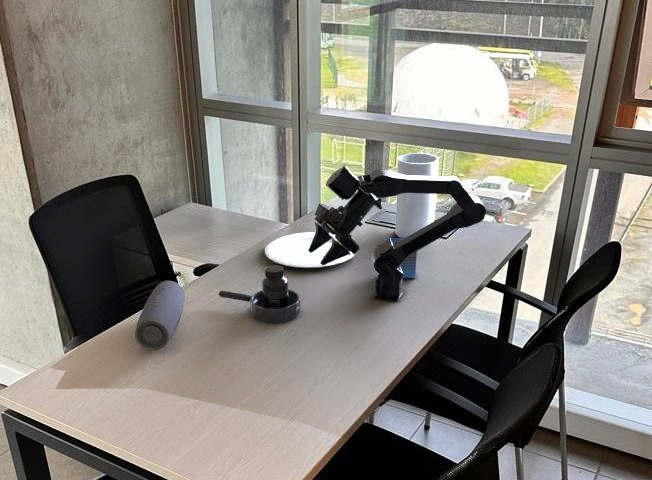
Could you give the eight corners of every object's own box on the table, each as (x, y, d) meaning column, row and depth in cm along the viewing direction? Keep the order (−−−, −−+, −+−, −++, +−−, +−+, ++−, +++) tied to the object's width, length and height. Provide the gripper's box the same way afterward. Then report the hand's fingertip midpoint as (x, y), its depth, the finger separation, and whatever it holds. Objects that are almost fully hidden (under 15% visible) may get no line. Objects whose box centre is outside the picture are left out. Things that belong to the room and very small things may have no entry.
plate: (373, 247, 230) (373, 241, 229) (327, 280, 209) (326, 274, 208) (297, 231, 244) (297, 226, 243) (246, 261, 223) (245, 255, 222)
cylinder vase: (391, 228, 244) (394, 154, 230) (427, 226, 245) (432, 152, 231) (399, 242, 233) (403, 164, 220) (437, 239, 234) (443, 162, 221)
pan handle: (256, 300, 194) (256, 294, 193) (253, 303, 193) (253, 297, 192) (221, 295, 198) (220, 289, 197) (217, 297, 196) (217, 291, 195)
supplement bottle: (294, 309, 192) (292, 267, 186) (278, 318, 188) (275, 276, 182) (275, 302, 196) (272, 261, 190) (258, 311, 192) (255, 270, 185)
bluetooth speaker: (155, 312, 194) (149, 278, 189) (189, 312, 194) (185, 278, 189) (135, 355, 175) (129, 318, 170) (173, 354, 175) (168, 317, 169)
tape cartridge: (415, 273, 212) (417, 233, 205) (415, 278, 209) (418, 238, 202) (384, 272, 213) (386, 233, 206) (384, 278, 209) (386, 238, 203)
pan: (307, 306, 195) (307, 291, 193) (288, 327, 185) (287, 312, 183) (264, 299, 200) (263, 285, 197) (243, 319, 190) (242, 305, 187)
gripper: (321, 182, 189) (282, 228, 192) (348, 203, 174) (306, 253, 177) (348, 207, 195) (311, 252, 198) (377, 230, 180) (336, 277, 183)
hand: (315, 258), depth 189 cm, fingers open, 9 cm apart
